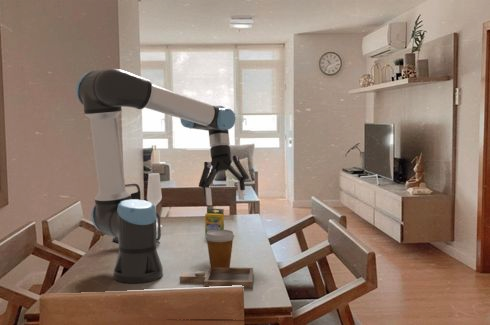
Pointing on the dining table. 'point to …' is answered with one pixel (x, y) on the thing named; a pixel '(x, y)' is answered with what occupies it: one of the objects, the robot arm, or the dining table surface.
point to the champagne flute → (154, 190)
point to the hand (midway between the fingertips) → (225, 202)
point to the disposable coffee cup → (220, 247)
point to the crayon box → (214, 220)
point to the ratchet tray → (221, 277)
